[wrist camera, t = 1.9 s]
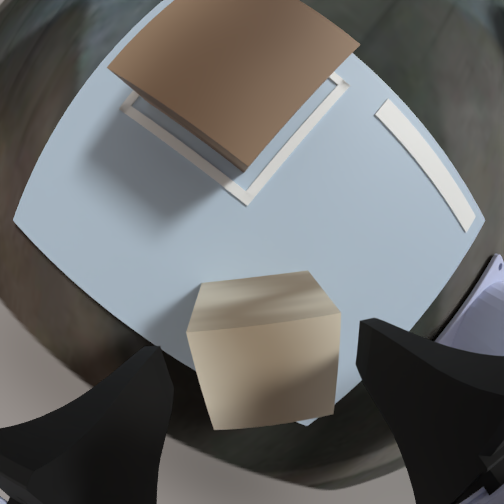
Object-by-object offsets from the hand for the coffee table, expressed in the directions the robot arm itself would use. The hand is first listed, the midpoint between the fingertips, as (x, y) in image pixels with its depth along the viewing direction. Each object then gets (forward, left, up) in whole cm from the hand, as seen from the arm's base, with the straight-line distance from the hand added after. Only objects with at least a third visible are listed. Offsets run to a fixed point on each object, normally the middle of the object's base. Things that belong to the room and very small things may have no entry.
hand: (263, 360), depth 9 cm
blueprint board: (+3, -4, -3) cm, 6 cm away
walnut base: (+7, -7, -3) cm, 10 cm away
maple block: (0, 0, -3) cm, 3 cm away
